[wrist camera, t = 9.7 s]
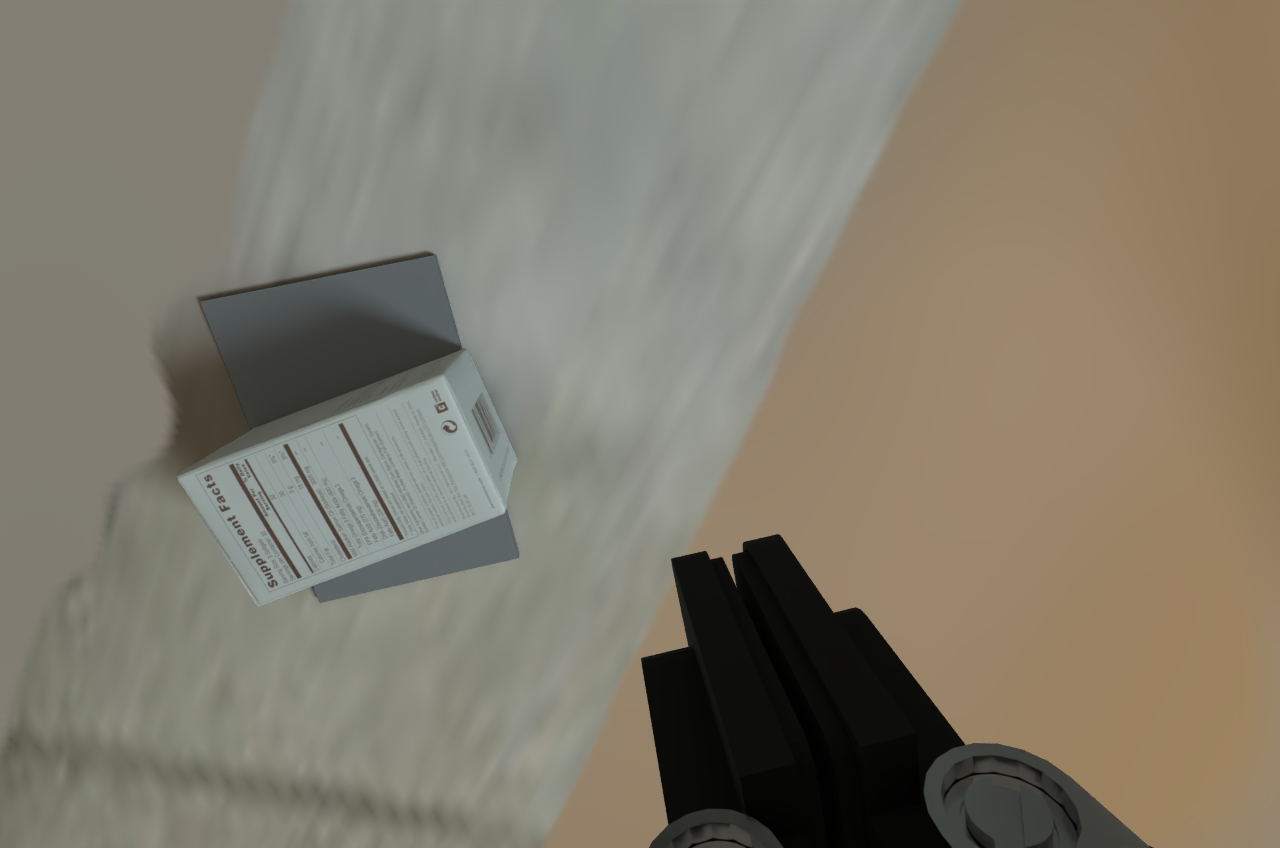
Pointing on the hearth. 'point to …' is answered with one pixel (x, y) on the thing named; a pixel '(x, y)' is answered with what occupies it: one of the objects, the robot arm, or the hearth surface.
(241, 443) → the supplement box
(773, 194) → the hearth surface
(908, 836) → the robot arm
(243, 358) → the mat
